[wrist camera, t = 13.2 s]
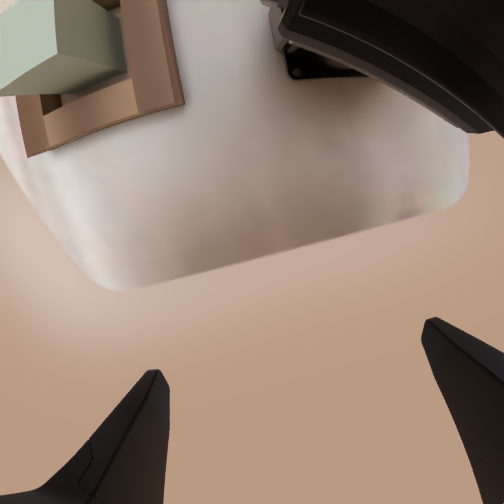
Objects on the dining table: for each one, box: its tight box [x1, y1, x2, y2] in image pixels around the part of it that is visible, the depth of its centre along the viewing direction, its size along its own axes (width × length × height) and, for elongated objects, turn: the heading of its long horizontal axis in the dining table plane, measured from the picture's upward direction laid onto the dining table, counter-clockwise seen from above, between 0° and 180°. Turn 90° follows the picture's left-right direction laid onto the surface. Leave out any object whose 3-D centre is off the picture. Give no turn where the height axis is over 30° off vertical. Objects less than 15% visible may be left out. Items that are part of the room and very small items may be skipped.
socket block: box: [16, 0, 185, 158], centre depth 13 cm, size 10×10×3 cm
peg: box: [0, 0, 128, 97], centre depth 10 cm, size 4×4×8 cm
